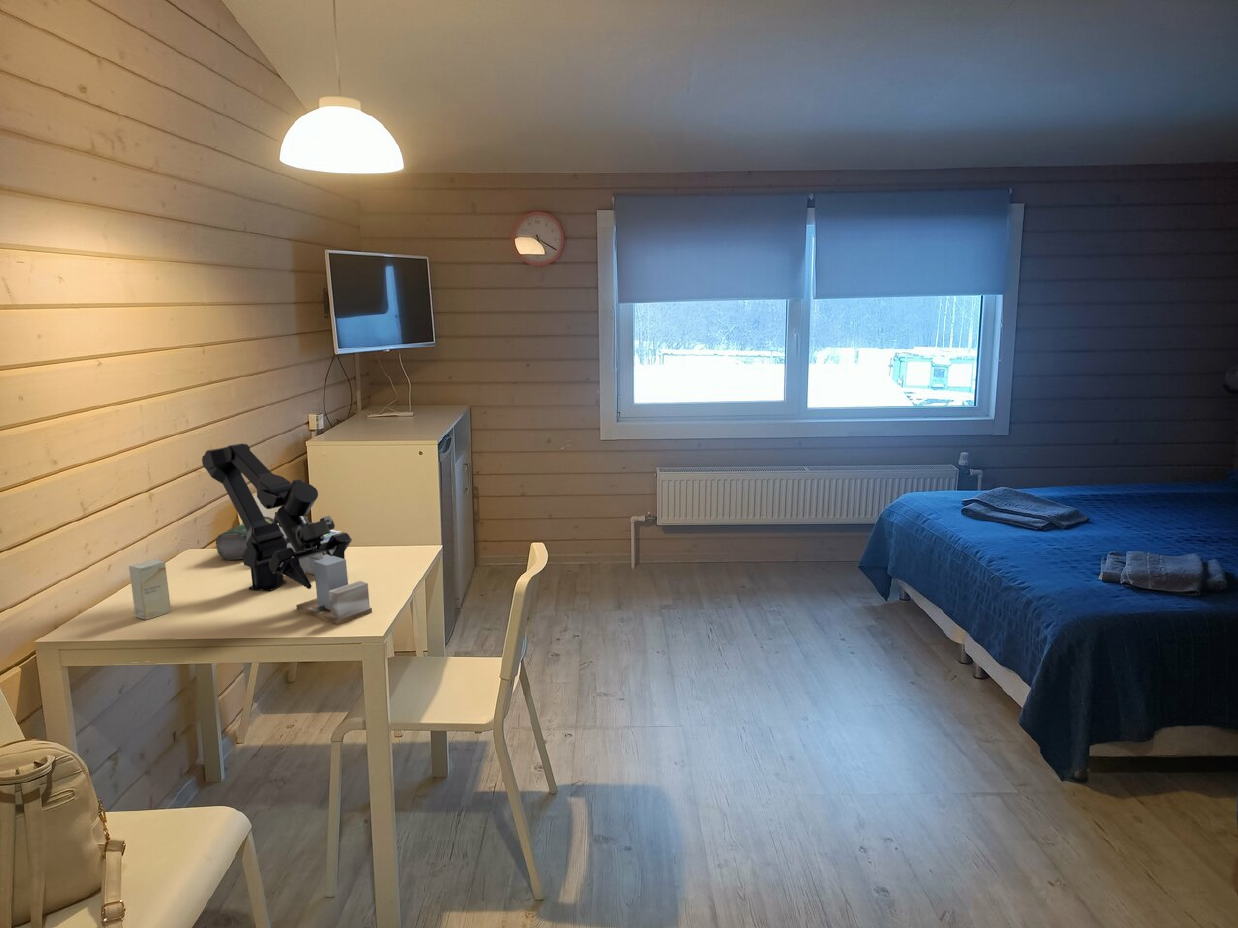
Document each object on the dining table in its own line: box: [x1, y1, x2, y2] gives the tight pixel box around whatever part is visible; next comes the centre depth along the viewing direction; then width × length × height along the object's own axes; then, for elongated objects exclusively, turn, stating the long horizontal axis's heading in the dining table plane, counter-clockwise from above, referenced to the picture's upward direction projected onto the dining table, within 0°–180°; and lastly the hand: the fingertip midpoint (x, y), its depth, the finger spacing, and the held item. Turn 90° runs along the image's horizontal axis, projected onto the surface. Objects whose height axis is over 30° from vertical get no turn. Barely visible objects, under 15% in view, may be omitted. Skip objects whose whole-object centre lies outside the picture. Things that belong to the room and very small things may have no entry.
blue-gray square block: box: [314, 556, 349, 610], centre depth 195 cm, size 6×6×10 cm
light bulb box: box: [299, 529, 342, 576], centre depth 224 cm, size 11×7×11 cm, turn 58°
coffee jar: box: [215, 515, 274, 561], centre depth 243 cm, size 10×8×19 cm
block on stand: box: [295, 580, 373, 626], centre depth 196 cm, size 16×9×7 cm, turn 52°
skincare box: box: [128, 558, 172, 621], centre depth 196 cm, size 6×4×12 cm
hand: (328, 582), depth 196 cm, fingers open, 9 cm apart
